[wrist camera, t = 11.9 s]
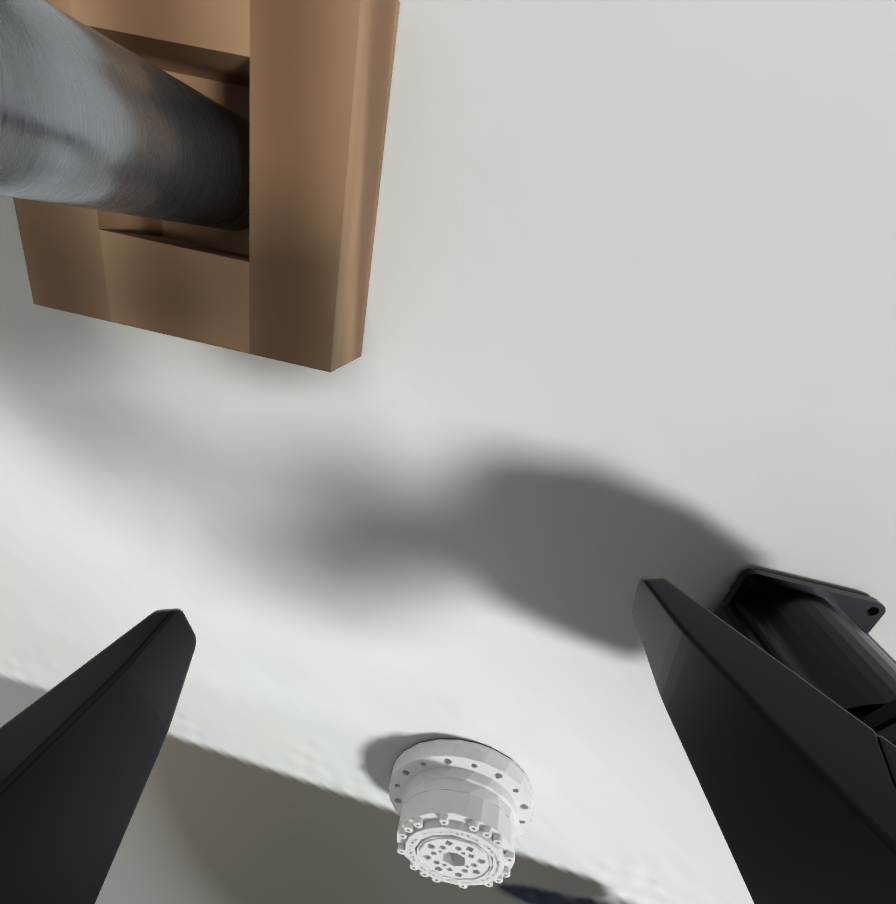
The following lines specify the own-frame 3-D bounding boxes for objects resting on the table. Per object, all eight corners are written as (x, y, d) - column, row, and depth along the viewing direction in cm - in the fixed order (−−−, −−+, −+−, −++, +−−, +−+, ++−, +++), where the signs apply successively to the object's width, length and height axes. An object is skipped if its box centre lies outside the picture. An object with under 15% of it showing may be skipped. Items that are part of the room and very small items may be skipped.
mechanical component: (562, 785, 29) (443, 712, 28) (570, 868, 25) (431, 787, 24) (476, 839, 33) (369, 777, 32) (471, 918, 29) (348, 851, 27)
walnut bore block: (399, 2, 14) (367, -78, 11) (360, 356, 19) (330, 372, 16) (67, -59, 15) (-56, -152, 11) (112, 299, 20) (34, 303, 16)
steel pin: (245, 90, 15) (-675, -557, 3) (291, 211, 17) (-244, 59, 5) (157, 132, 16) (-820, -261, 4) (207, 244, 17) (-422, 184, 6)
